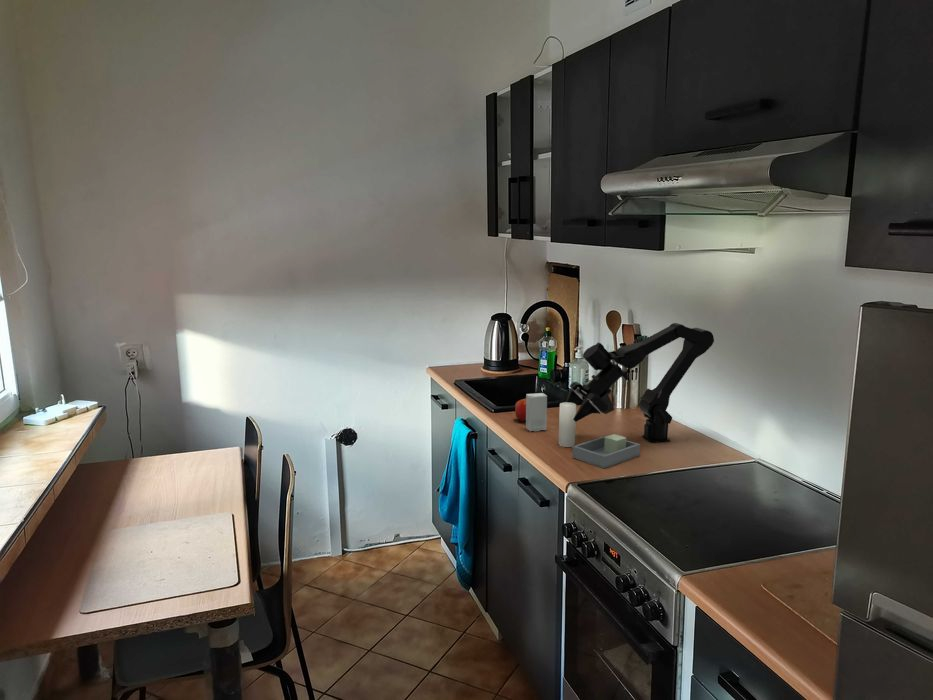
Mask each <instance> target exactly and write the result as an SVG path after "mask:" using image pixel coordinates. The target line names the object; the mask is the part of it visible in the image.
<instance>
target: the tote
mask: <svg viewBox="0 0 933 700" xmlns="http://www.w3.org/2000/svg"><path fill="white" fill-rule="evenodd" d="M610 435H611V434H608V435H603V436H601V437H598V438H595V439H592V440H589V441H588V440H587V441H585V442H582V443H578V444H575V446H573V447H572V455H571V456H572V457H573V458H572V457H571V458H572V459H574V458H576V459H575V460H577V459H578V460H577V461H580V460H581V462H583V461H584V463H586V462H587V464H589V465H592V466H595V467H598V468H601V469H608V468H610V467H612V466H615V465H618V464H620V463H621V464H622V463H623V462H626V461H629V460H631V459H634V458H637V457H639V456H640V453H641V452H640V451H641V444H640V443H637V442H633V441H630V440H627V439H626V448H624V449H621V450H618V451H615V452H612V453H607V452H604V441H605V437H607V436H610Z"/></svg>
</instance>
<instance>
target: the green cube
mask: <svg viewBox="0 0 933 700" xmlns="http://www.w3.org/2000/svg"><path fill="white" fill-rule="evenodd" d="M609 435H610V436H607V435H606V436H607V437H605V441H604V452H607V453H612V452H615V451H618V450H621V449H624V448H626V440H627V436H626V437H625V436H622V435H620V434H616V433H613V434H609Z"/></svg>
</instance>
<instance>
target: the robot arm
mask: <svg viewBox="0 0 933 700" xmlns="http://www.w3.org/2000/svg"><path fill="white" fill-rule="evenodd" d="M679 338H682V339H683V343H682V344H683V345H682V350H681V351H680V353H679V354H678V356H677V357H676V358H675V360H674V362H673V363H672V365H671V366H670V367H669V368H668V370H667V372H666V373H665V374H664V376H663V377H662V378H661V380H660V382H659V383H658V384H657V386H656V387H655V388H653V389H650V388H646V390H645V392H644V393H643V394H642V396H641V397H639V399H640V401H639V409H640V411H641V412H642V413H643V417H644V418H646V419H645V424H644V425H643V434H642V437H643V438H644V439H646V440H647V441H649V442H650V443H661V442H670V441H671V438H669V437H668V434H669V424H671V422H672V420H673V416H672V415H671V414H670V413H669V412H668V411H667V409H668V408H669V406H670V405H669V404H670V397H671V395H672V394H673V393H674V390H676V388H677V386H678V385H679V383H680V382H681V380H682V379H683V377H684V376H685V375H686V373H687V371H688V370H689V369H690V367H692V364H693V363H694V362H695V360H696V359H697V358H699V357H700V356H702V355H704V354H705V353H706V352H707V351H708V350H709V349H710V348H711V347H712V346H713V345H714V343H715V338H714V335H713V333H712V332H711V331H710V330H707V329H704V328H700V327H692V328H691V327H687V326H685V325H684V324H682V323H677V322H673V323H671V324H670V325H669V326H667V327H665V328H663V329H661V330H660V331H658V332H656V333H654V334H652V335H650V336H648V337H646V338H644V339H643V340H641V341H639V342H636V343H629V344H625V345H624V346H620V347H618V348H617V349H616V350H612V351H608V350H607V349H606V348H605V346H604V345H603V344H602V343H601V342H599V341H598V342H596V344H594V345H591V346H589V347H588V348H586V350H585V351H584V352H583V354H582V358H583V359H584V360H585V361H586V363H587V364H589V366H591V368H592V369H593V370H595V371H598V373H597V374H596V375H595V374H592V375H591V380H590V381H589V382H588V383H587V384H581V383H580V382H578V381H572V382H571V384H570V385H569V391H568V395H567V399H566V401H565V402H570V403H575V404H576V406H577V405H579V404H580V406H579V408H578V410H576V415H575V417H574V419H573V420H574V421H575V422H576V423H577V422H579V421H580V420H582V419H583V418H586V417H587V416H589V415H591V414H598V415H600V414H604V415H607V414H609V413H612V411H615V408H614V405H613V402H612V400H611V398H610V396H609V395H610V394H611V392H612V390H611V388H612V386H614V385H615V384H616V382H618V381H619V379H620V378H621V379H623V380H626V381H627V380H629V378H628V377H629V375H628V373H629V371H628V370H626V369H629V370H630V369H631V370H632V369H634V368H635V367H637V366H638V365H639V364H640V363H642V362H644V360H645V359H646V357H647V356H648V355H650V354H652V353H654V352H655V351H657V350H659V349H661V348H663V347H664V346H666V345H668V344H670V343H672V342H674V341H676V340H678V339H679ZM613 362H614V363H613ZM615 363H616V364H615ZM620 366H622V367H624V368H625V369H622V368H621V367H620Z"/></svg>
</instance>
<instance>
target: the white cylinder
mask: <svg viewBox="0 0 933 700" xmlns="http://www.w3.org/2000/svg"><path fill="white" fill-rule="evenodd" d="M576 413H577V405H576V404H575V403H570V402H566V401H565V402H560V403H559V417H558V444H559V445H560V446H563V447H562V448H564V447H572V448H573V446H576V424H577V422H575V421H574V420H573V419H574V417H575V415H576ZM559 445H558V446H559ZM560 446H559V447H560Z"/></svg>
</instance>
